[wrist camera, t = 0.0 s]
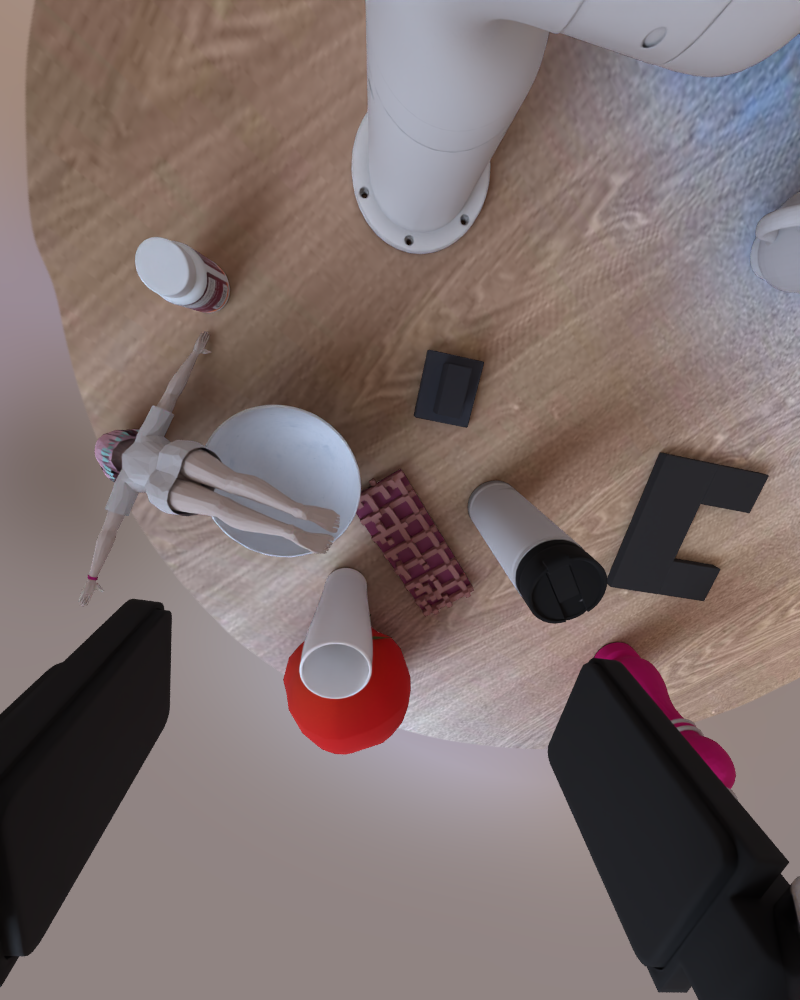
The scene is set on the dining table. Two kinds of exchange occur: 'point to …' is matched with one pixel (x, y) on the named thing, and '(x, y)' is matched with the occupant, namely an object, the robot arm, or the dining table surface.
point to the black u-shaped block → (678, 525)
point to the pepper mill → (672, 710)
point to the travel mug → (536, 554)
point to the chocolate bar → (412, 543)
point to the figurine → (189, 482)
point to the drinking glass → (339, 638)
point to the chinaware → (288, 470)
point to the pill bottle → (182, 275)
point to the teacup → (779, 247)
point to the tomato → (353, 702)
